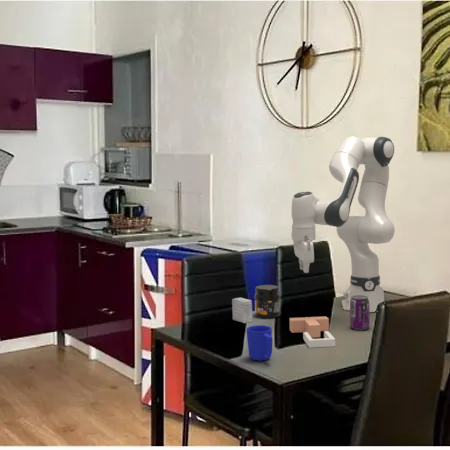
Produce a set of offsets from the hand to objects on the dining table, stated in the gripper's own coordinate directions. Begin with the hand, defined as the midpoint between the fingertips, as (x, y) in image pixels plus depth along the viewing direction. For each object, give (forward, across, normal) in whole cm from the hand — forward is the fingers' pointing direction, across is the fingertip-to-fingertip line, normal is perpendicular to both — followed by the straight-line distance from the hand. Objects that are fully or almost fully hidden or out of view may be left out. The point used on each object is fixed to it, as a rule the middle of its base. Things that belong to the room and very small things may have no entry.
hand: (304, 271), depth 249 cm
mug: (+21, -40, +22) cm, 51 cm away
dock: (+21, -24, 0) cm, 32 cm away
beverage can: (+21, -8, -19) cm, 30 cm away
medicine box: (+21, +12, +23) cm, 33 cm away
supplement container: (+21, +18, +12) cm, 30 cm away
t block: (+21, -12, 0) cm, 24 cm away
